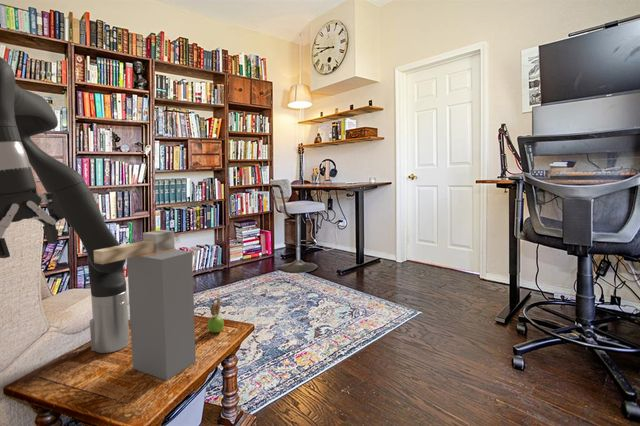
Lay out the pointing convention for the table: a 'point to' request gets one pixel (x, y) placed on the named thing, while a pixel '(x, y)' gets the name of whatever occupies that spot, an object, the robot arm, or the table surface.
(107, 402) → the table surface
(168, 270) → the pedestal
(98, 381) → the table surface
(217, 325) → the snail figurine
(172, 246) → the beam
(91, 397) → the table surface
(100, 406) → the table surface
